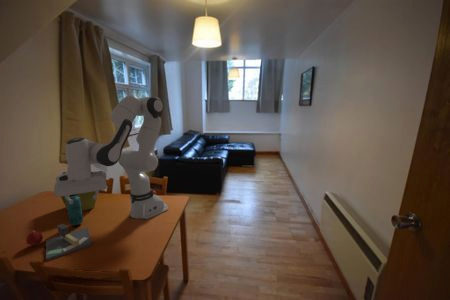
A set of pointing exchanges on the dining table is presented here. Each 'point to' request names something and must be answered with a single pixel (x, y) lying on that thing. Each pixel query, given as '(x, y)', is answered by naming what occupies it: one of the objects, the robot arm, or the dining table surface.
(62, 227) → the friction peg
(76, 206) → the beverage bottle
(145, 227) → the dining table surface
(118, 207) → the dining table surface
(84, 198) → the flower pot
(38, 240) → the onion
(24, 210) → the dining table surface
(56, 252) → the dial board
